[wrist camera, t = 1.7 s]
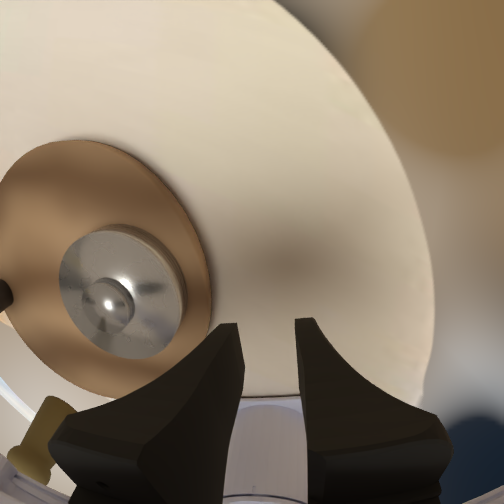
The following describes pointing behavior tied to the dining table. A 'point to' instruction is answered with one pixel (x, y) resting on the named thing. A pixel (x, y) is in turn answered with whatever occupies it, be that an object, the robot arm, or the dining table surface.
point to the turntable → (71, 229)
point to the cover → (123, 290)
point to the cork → (40, 441)
